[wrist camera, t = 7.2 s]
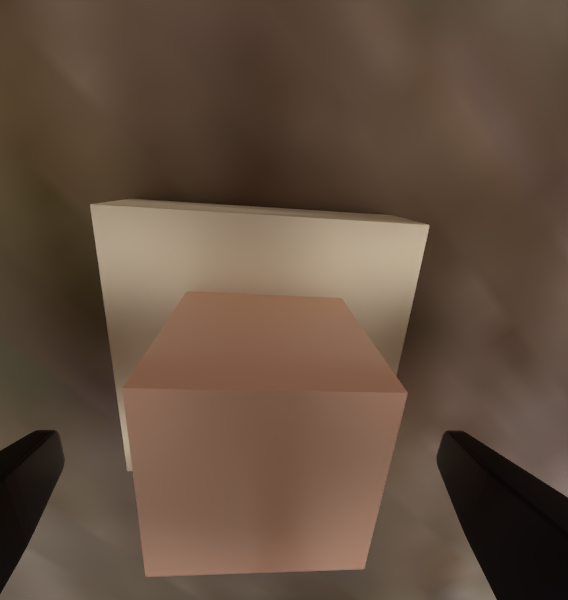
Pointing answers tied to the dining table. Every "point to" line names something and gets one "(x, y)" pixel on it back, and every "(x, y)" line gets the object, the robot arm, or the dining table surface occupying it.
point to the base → (249, 267)
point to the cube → (260, 436)
